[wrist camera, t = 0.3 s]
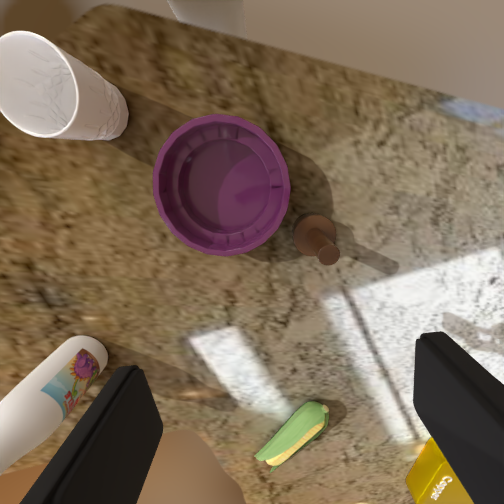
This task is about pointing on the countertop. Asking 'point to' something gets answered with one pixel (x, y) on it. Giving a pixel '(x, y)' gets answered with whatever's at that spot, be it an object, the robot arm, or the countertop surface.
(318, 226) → the dish brush
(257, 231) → the bowl
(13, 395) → the milk bottle
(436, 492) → the element tile
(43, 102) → the white cup
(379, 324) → the countertop surface
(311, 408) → the edible corn
